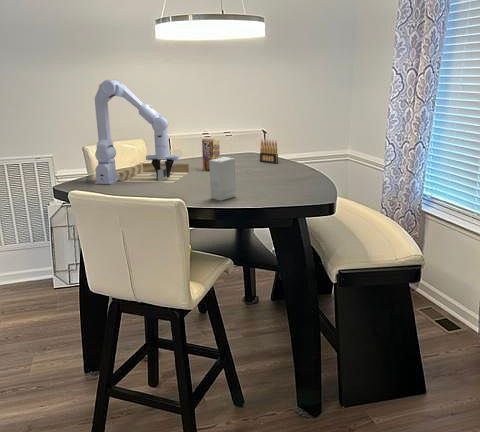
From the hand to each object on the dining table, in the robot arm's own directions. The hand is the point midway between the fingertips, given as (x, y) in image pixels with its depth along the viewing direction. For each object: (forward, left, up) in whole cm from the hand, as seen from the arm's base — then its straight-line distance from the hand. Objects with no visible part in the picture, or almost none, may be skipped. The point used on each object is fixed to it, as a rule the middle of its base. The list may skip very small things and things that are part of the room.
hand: (163, 176), depth 222 cm
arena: (+6, +6, -2) cm, 9 cm away
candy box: (+26, -15, -2) cm, 30 cm away
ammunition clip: (+50, -39, -2) cm, 64 cm away
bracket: (0, +1, -1) cm, 2 cm away
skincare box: (-26, -33, -2) cm, 42 cm away
